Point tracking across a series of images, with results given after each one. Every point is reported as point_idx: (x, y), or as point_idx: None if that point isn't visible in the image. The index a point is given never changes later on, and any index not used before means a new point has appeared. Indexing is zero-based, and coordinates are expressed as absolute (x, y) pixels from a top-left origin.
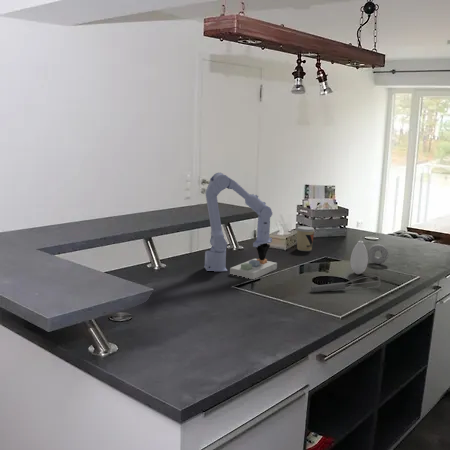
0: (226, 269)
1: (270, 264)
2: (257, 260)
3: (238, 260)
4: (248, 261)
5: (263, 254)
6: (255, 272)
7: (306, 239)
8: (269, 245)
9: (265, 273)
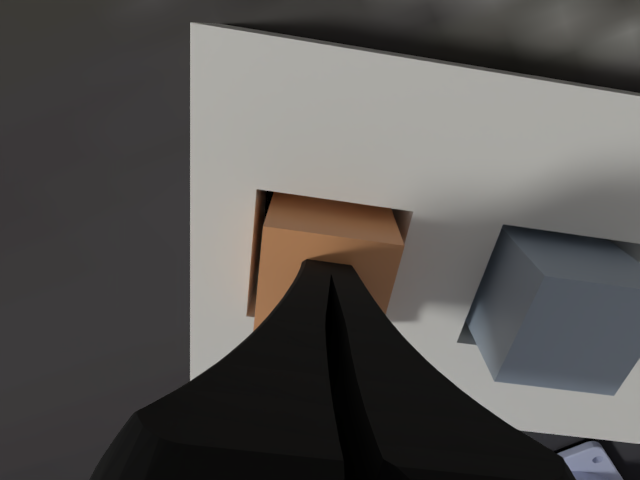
0: (572, 459)
1: (380, 99)
2: None
3: None
4: None
5: (391, 329)
6: None
7: None
8: (202, 466)
9: (581, 83)
